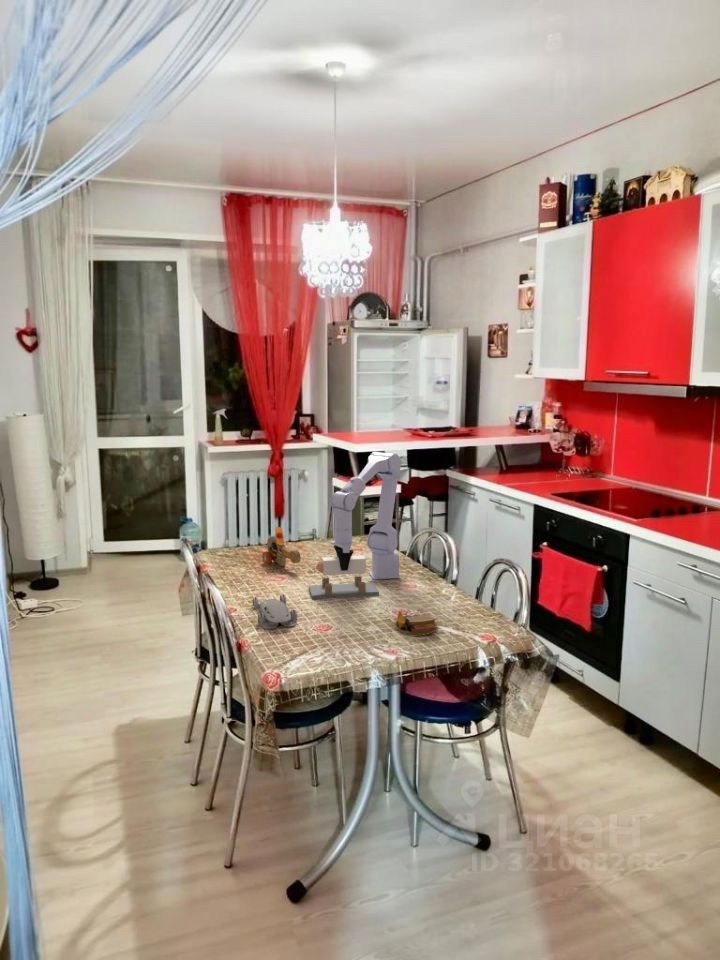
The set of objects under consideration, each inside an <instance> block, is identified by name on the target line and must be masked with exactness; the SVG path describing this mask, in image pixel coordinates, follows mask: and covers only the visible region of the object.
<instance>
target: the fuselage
mask: <svg viewBox="0 0 720 960" xmlns="http://www.w3.org/2000/svg"><path fill="white" fill-rule="evenodd" d="M316 569H317V571H318V572H320V573H322V576H341V575H342V576H343V575H345V576H346V575H356V574H360V575H361V574H363V575H364V574H367V559H366V556H365V555H352V556H351V558H350V562H349V567H348V570H347V571H341V568H340V562H339V557H337V556H325V557H323V556H322V557H321V560H319V561H318V562H317V563H316Z"/></svg>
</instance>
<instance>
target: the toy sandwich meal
mask: <svg viewBox="0 0 720 960" xmlns="http://www.w3.org/2000/svg"><path fill="white" fill-rule="evenodd" d="M393 626H394V628H395V629H396V630H397V631H398V632H400V633H401V634H404V633H405V635H408V634H410V635H409V636H424V635H423V634H426V635H429V634H431V632H432V633H434V631H437V630H438V624H437V622H436V620H435V618H433V617H432V616H430V615H428V614H424V615H417V614H415V615H411V614H406V615H403V613H402V611H401V610H399V611H398V613H397V620H396V621H395V622H394V623H393ZM428 633H429V634H428Z"/></svg>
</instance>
